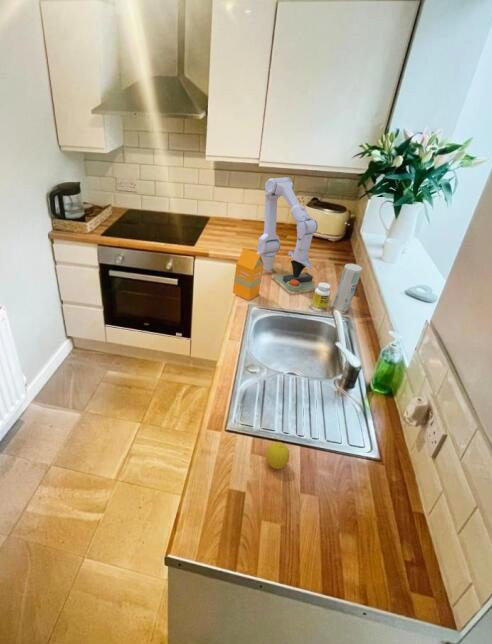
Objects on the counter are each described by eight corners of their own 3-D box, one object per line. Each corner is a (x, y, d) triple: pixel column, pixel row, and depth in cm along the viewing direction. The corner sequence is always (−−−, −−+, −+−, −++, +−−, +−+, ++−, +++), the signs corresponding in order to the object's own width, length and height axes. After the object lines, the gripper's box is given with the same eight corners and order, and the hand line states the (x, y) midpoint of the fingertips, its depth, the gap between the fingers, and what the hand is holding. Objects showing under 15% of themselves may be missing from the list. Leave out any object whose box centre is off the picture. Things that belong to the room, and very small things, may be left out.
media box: (271, 278, 189) (272, 272, 187) (297, 275, 194) (298, 268, 192) (290, 295, 177) (291, 288, 175) (317, 291, 181) (319, 284, 179)
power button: (288, 283, 179) (289, 279, 178) (295, 282, 180) (295, 278, 179) (292, 287, 176) (293, 283, 175) (299, 286, 178) (300, 282, 177)
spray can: (344, 316, 164) (358, 272, 153) (329, 310, 167) (342, 266, 156) (350, 310, 168) (364, 267, 157) (335, 304, 171) (348, 262, 160)
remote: (287, 284, 182) (288, 279, 180) (282, 280, 185) (283, 275, 184) (311, 281, 186) (313, 276, 184) (306, 277, 189) (307, 272, 188)
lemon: (261, 457, 104) (266, 436, 99) (282, 456, 104) (288, 435, 100) (267, 475, 99) (272, 455, 95) (288, 474, 99) (295, 454, 95)
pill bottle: (318, 313, 165) (324, 289, 159) (307, 306, 169) (313, 283, 163) (328, 310, 167) (335, 286, 161) (318, 303, 172) (324, 280, 166)
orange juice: (243, 287, 181) (249, 246, 170) (258, 294, 176) (266, 252, 165) (232, 292, 176) (237, 250, 165) (248, 300, 171) (255, 257, 160)
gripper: (320, 253, 164) (313, 283, 172) (300, 240, 176) (294, 268, 183) (306, 255, 162) (299, 285, 170) (286, 242, 174) (281, 270, 181)
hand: (295, 276), depth 176 cm, fingers closed
